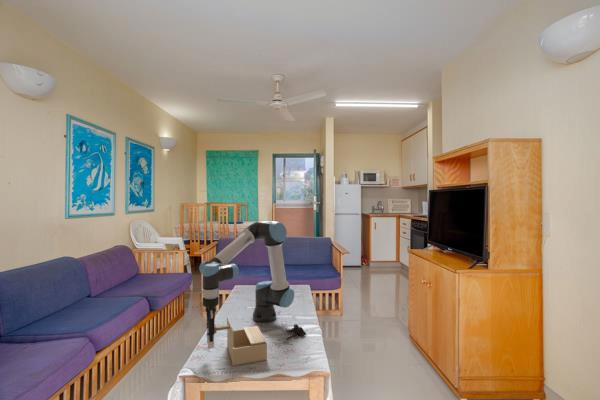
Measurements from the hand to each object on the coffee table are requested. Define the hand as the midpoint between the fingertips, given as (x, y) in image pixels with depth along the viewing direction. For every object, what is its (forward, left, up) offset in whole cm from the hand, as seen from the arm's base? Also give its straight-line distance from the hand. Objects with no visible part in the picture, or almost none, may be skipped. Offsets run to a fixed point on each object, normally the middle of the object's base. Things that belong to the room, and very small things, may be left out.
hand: (210, 344), depth 148 cm
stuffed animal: (-11, +48, -8) cm, 50 cm away
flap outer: (0, +9, +5) cm, 11 cm away
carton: (0, +17, -7) cm, 19 cm away
